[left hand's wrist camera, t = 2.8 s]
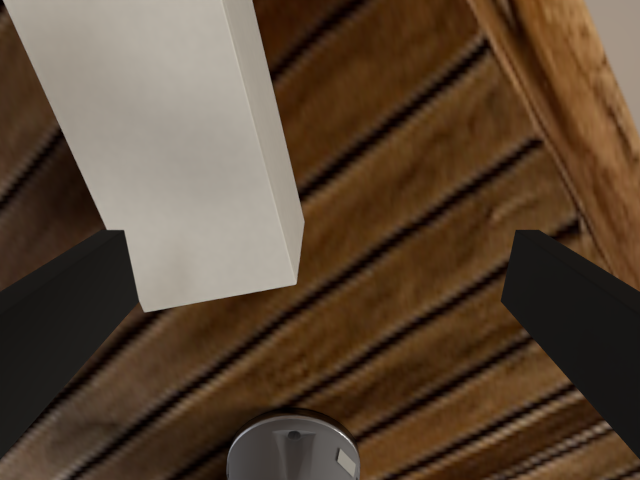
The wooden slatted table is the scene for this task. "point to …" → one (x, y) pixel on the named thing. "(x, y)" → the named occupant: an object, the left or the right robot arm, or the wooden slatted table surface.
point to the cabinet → (173, 138)
